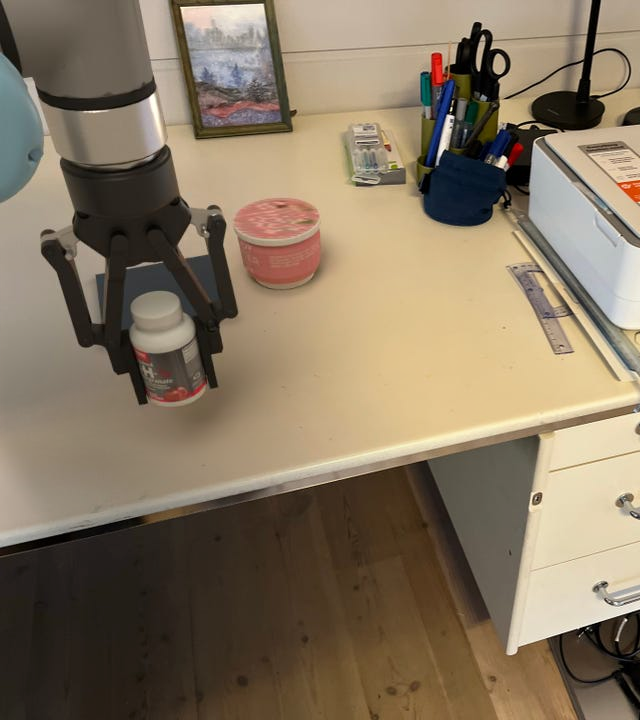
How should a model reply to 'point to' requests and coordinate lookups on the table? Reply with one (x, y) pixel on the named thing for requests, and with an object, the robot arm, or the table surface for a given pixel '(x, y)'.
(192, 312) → the mat
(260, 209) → the container
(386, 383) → the table surface
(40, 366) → the table surface
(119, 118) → the robot arm
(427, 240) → the table surface
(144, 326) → the pill bottle
